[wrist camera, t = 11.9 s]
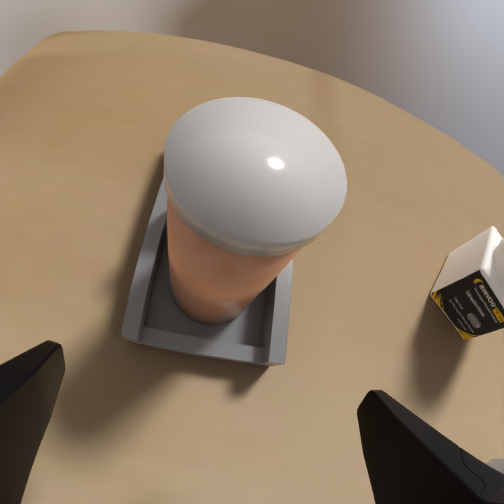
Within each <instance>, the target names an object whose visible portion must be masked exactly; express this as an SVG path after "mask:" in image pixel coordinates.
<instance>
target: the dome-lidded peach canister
mask: <svg viewBox="0 0 504 504" xmlns="http://www.w3.org/2000/svg"><path fill="white" fill-rule="evenodd" d="M164 184H165V189H166V193H167V233H168V259H169V278H170V290H171V295H172V298H173V300H174V302H175V304H176V306H177V307H178V308H179V310H180V311H181V312H182V313H183V314H184V315H185V316H187V317H188V318H190V319H191V320H193V321H195V322H198V323H201V324H206V325H218V324H223V323H226V322H229V321H231V320H233V319H234V318H236V317H237V316H238V315H239V314H241V313H242V312H243V311H244V310H245V309H246V307H247V306H248V305H249V304H250V303H251V302H252V301H253V300H254V299H255V298H256V297H257V296H258V295H259V294H260V293H261V292H262V291H263V290H264V289H265V288H266V287H267V286H268V285H269V284H270V283H271V282H272V280H273V279H274V278H275V277H276V276H277V275H278V274H279V273H280V272H281V271H282V270H283V269H284V268H285V267H286V266H287V265H288V264H289V263H290V261H291V260H292V259H293V258H294V257H295V256H296V255H297V254H298V253H299V252H300V251H301V250H302V249H303V248H304V247H305V246H306V245H308V244H309V243H311V242H312V241H313V240H314V239H316V238H317V237H318V236H319V235H320V234H321V233H322V232H323V231H324V230H325V229H326V227H327V226H328V225H329V224H330V223H331V222H332V221H333V220H334V219H335V217H336V216H337V215H338V213H339V212H340V210H341V208H342V206H343V204H344V200H345V197H346V190H347V178H346V173H345V168H344V165H343V163H342V160H341V158H340V156H339V154H338V152H337V150H336V149H335V147H334V145H333V144H332V143H331V141H330V140H329V139H328V137H327V136H326V135H325V134H324V133H323V132H322V131H321V130H320V129H319V128H318V127H317V126H315V125H314V124H313V123H312V122H310V121H309V120H308V119H306V118H305V117H303V116H302V115H300V114H298V113H297V112H295V111H293V110H291V109H289V108H287V107H284V106H282V105H279V104H277V103H274V102H270V101H267V100H262V99H257V98H249V97H227V98H220V99H215V100H212V101H208V102H205V103H203V104H200V105H198V106H196V107H194V108H193V109H191V110H189V111H188V112H187V113H185V114H184V115H183V116H182V117H181V118H180V119H179V120H178V121H177V122H176V123H175V124H174V126H173V127H172V129H171V130H170V132H169V134H168V137H167V140H166V143H165V148H164Z"/></svg>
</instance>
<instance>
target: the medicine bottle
mask: <svg viewBox="0 0 504 504" xmlns="http://www.w3.org/2000/svg"><path fill="white" fill-rule="evenodd" d="M430 296H431V297H432V298H433V300H434V301H435V302H436V303H437V305H438V306H439V307H440V309H441V310H442V311H443V312H444V314H445V315H446V316H447V318H448V319H449V320H450V322H451V323H452V324H453V326H454V327H455V329H456V330H457V331H458V333H459V334H460V335H461V337H462V338H463V339H464V340H466V339H470V338H473V337H477V336H480V335H483V334H486V333H490V332H493V331H496V330H499V329H502V328H504V238H503V239H502V237H501V236H500V234H499V233H498V231H497V230H496V228H495V227H493V226H492V227H490V228H488V229H487V230H485V231H484V232H482V233H481V234H479V235H478V236H476V237H475V238H473V239H471V240H470V241H468V242H467V243H465V244H463V245H462V246H460V247H458V248H457V249H455V250H454V251H452V252H450V253H449V255H448V257H447V259H446V262H445V264H444V266H443V268H442V270H441V272H440V274H439V277H438V279H437V281H436V283H435V285H434V287H433V289H432V291H431V293H430Z"/></svg>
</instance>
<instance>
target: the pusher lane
mask: <svg viewBox="0 0 504 504" xmlns="http://www.w3.org/2000/svg"><path fill="white" fill-rule="evenodd" d="M292 269H293V259H292V260H291V261H290V263H289V264H288V265H287V266H286V267H285V268H284V269H283V270H282V271H281V272H280V273H279V274H278V275H277V276H276V277H275V278H274V279H273V280H272V282H271V283H270V284H269V285H268V286H267V287H266V288H265V289H264V290H263V291H262V292H261V293H260V294H259V295H258V296H257V297H256V298H255V299H254V300H253V301H252V302H251V303H250V304H249V305H248V306H247V307H246V309H245V310H244V311H243V312H242V313H241V314H239V315H238V316H237V317H236V318H234V319H233V320H231V321H229V322H226V323H223V324H218V325H206V324H201V323H198V322H195V321H193V320H191V319H190V318H188V317H187V316H185V315H184V314H183V313H182V312H181V311H180V310H179V308H178V307H177V306H176V304H175V302H174V300H173V298H172V295H171V290H170V278H169V259H168V233H167V193H166V189H165V184H164V178H163V180H162V183H161V186H160V189H159V192H158V195H157V198H156V201H155V204H154V207H153V211H152V214H151V217H150V220H149V223H148V227H147V230H146V233H145V237H144V240H143V244H142V247H141V251H140V254H139V258H138V262H137V266H136V269H135V273H134V277H133V281H132V285H131V289H130V293H129V298H128V302H127V306H126V311H125V315H124V320H123V325H122V330H121V336H122V337H123V338H125V339H126V340H127V341H129V342H133V343H137V344H142V345H146V346H151V347H155V348H160V349H165V350H170V351H175V352H180V353H185V354H191V355H196V356H202V357H208V358H214V359H220V360H227V361H234V362H241V363H249V364H257V365H265V366H274V365H280V364H285V357H286V346H287V335H288V323H289V311H290V298H291V284H292Z"/></svg>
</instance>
